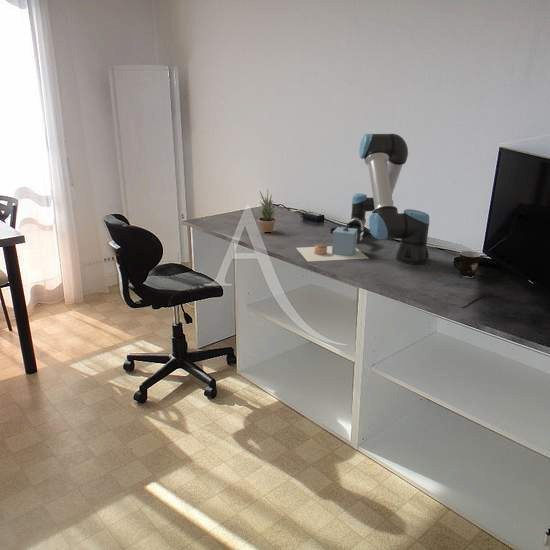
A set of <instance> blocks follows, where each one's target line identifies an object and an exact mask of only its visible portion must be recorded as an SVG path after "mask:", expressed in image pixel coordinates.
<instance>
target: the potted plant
mask: <svg viewBox="0 0 550 550" xmlns="http://www.w3.org/2000/svg"><path fill="white" fill-rule="evenodd" d="M266 191H267V193H266V196H263V194H262V192H261V191H259V194H260V196H261V200H262V201H261V200H260V204H261V206H262V208H260V209H258V210H259V212H260V213H261V215H262V217H258V219H257V220H258V223H259V226H260V230H261V233H263V232H271V233H272V232H273V230H274V227H275V224H276V218H275V217H274V215H275V206H276V204H274V205H273V202H274V201H273V200H272V196H273V194H272V193H271V194H270V197H269V188H267V190H266ZM261 209H262V210H261Z"/></svg>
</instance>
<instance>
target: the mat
mask: <svg viewBox="0 0 550 550" xmlns="http://www.w3.org/2000/svg"><path fill="white" fill-rule="evenodd" d="M326 246H327V245H326ZM295 248H296V250H297V251H298V253H300V255H302V257H303V258H304V259H305V260H306V262H323V261H342V260H344V261H345V260H363V259H369V257H368V256H367V255H366V254H365V253H363V252H362V251H361V250H360V249H358V248H357V247H356V252H355V253H354V255H353V256H346V255H337V254H332V245H329V246H327V254H326V255H316V254H314V249H315V246H308V247H307V246H304V247H295Z"/></svg>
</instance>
